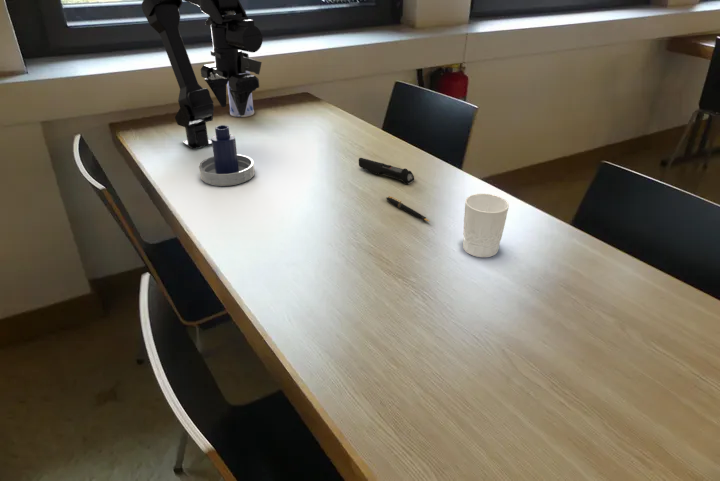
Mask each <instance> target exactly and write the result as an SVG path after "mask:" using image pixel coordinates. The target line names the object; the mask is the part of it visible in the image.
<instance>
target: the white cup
mask: <svg viewBox="0 0 720 481" xmlns="http://www.w3.org/2000/svg"><path fill="white" fill-rule="evenodd" d="M464 201H465V202H464V214H463V215H464V216H463V232H462V235H463V239H462V247H463V248H462V249H463V250H464V251H465V253H467V254H469V255H470V256H473V257H477V258H490V257H493V256H496V255H497V253H498V252H499V249H500V243H501V240H502V238H503V232H504V230H505V227H506V226H505V225H506V221H507V216H508V212H509V207H510V203H509V202H508V201H507V200H506V199H505V198H504V197H502V196H499V195H496V194H491V193H475V194H471V195H468V197H466V198H465V200H464Z"/></svg>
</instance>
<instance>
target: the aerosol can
mask: <svg viewBox="0 0 720 481" xmlns="http://www.w3.org/2000/svg"><path fill="white" fill-rule="evenodd" d="M246 73H249V74H251V72H249V71H246ZM246 73H243V74H246ZM240 74H241V73H240ZM240 74H239V75H240ZM226 88H227V94H228V103H229V115H230V116H231V117H233V118H246V117H251V116H253V115H254V114H255V110H254V100H253V92H252V93H251V94H250V95H249V98H248V102H247V106H246V111H245V115H243V116H240V114H239V112H238V110H237V108H236V105H235V103H234V100H233V98H232V95H231V93H230V90H231V88H230V86H229V81H228V83H227V84H226Z"/></svg>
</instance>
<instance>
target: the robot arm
mask: <svg viewBox="0 0 720 481" xmlns="http://www.w3.org/2000/svg"><path fill="white" fill-rule="evenodd" d="M183 2H186V3H189V4H192V5H194V6H197V7H199V8H200V11H201V12H203V13H204V14H205V15H208V18H207V19H206V20H205V21H204V24H205V25H206V26H210V31H211V39H212V40H211V41H212V48H213V50H210V56H212V57H214V63H208V64H203V65H202V66H201V68H200V76H201V78H203V79H204V82H205V83H206V84H207V85H208V87H209V89H210V90H211V92H212V93H213V95H214V97H215V98H216V100H217V101H218V103H219V105H220V106H221V107H222V108H226V107H227V83H228V81H229V86H230V88H231V90H230V93H231V95H232V98H233V100H234V103H235V105H236V108H237V110H238V112H239V114H240V116H243V115H245V111H246V106H247V102H248V98H249V95H250V94H251V93H252V94H253V92H255V91H256V90H257V89H260V80H259V77H257V76H256V75H260V72H261V69H262V68H261V67H262V63H263V62H262V61H260V60H257V59H254V58H251V57H250V56H249V53H256V52H258V51H259V50H260V49H261V47H262V46H263V38H264V37H263V34H262V31H261V30H260V28H258V26H256V25H255V20H254V19H249V17H248V15H247V12H246V10H245V9H244V7H243V5H242V4H241V1H240V0H142V1H141V11H142V13H143V14H144V16H145V19H146V20H147V23H148V25H149V26H150V27H151V28H153V29H154V30H155V31H156V32H157V33H158V34H159V36H160V39H161V41H162V44H163V47H164V50H165V52H166V55H167V57H168V60H169V63H170V65H171V69H172V71H173V74H174V76H175V79H176V82H177V84H178V88H179V93H178V98H177V102H178V106H179V109H178V111H177V112H176V114H175V116H174V118H175V122H176V124H177V125H178V126H180V127H183V128H184V129H185V136H186V140H183V141H182V144H184V145H185V146H187V147H188V148H190V149H192V150H196V149H199V148H200V149H201V148H203V147H208V146H212V141H211V139H209V134H208V128H207V123H208V122H213V119H214V111H215V105H214V101H213V98H212V97H211V93H210V90H209V89H208V88H204V87H202V86H201V85H200V83H199V82H198V78H197V77H196V73H195V71H194V67H193V65H192V63H191V60H190V58H189V57H190V56H189V54H188V52H187V48H186V46H185V43H184V41H183V37H182V35H181V32H180V30H179V28H180V27H179V26H180V21H181V13H180V8H182V5H183ZM246 52H247V53H246ZM246 71H249V72H250V74H249V73H246ZM240 73H241V74H240ZM243 73H246V74H243ZM252 73H254V74H255V75H254V74H252ZM239 74H240V75H239Z"/></svg>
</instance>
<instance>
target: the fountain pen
mask: <svg viewBox="0 0 720 481" xmlns="http://www.w3.org/2000/svg"><path fill="white" fill-rule="evenodd" d="M385 199H386V201H387V202H389V204H391V205H393V206H394V207H397V208H398V209H400V210H402V211H405V212H406V213H408V214H410V215H412V216H414V217H416V218H417V219H420V220H422V221H424V222H425V221H426V222H430V220H429V219H428V218H427V217H426V216H424V215H423V214H421V213H420V212H418V211H416V210H414V209H413V208H411V207H409V206H407V205H405V203H402V200H400V199H398V198H396V197H393V196H390V195H388V196H386V197H385Z"/></svg>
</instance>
